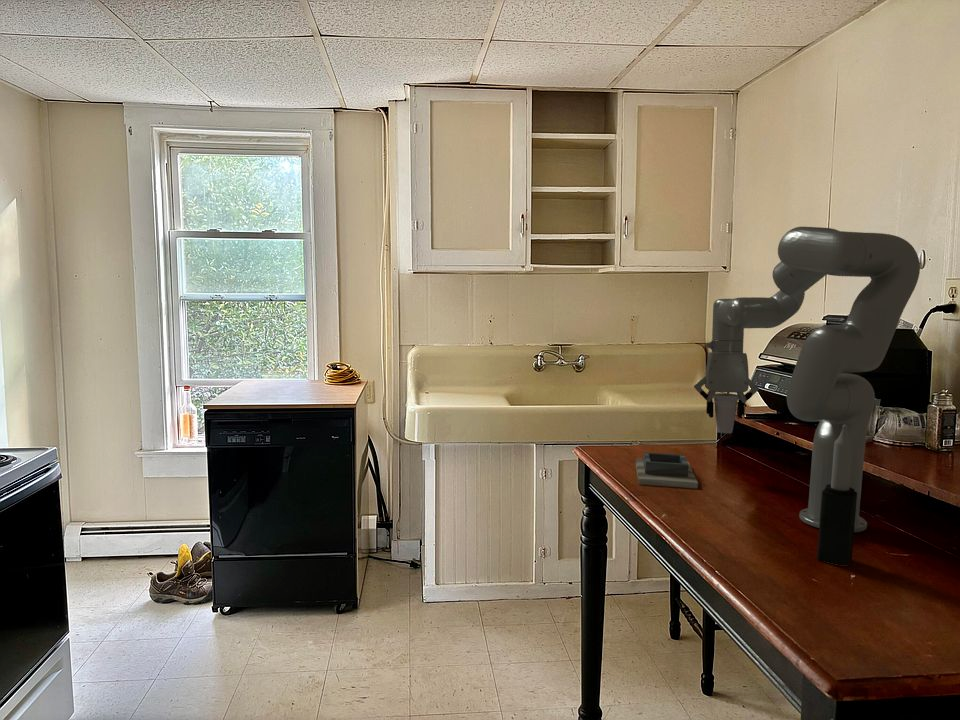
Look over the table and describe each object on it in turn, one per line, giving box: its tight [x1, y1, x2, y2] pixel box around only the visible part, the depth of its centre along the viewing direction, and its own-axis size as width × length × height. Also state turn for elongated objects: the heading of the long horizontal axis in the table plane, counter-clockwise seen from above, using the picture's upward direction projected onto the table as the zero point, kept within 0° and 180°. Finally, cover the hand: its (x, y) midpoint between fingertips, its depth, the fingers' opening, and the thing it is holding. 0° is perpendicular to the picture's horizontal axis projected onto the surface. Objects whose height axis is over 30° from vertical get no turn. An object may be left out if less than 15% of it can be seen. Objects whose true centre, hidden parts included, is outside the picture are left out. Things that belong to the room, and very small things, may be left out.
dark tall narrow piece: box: [816, 425, 857, 566], centre depth 121 cm, size 5×5×25 cm
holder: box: [635, 451, 699, 490], centre depth 174 cm, size 20×14×4 cm
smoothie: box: [713, 392, 739, 434], centre depth 172 cm, size 6×6×14 cm
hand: (725, 416), depth 172 cm, fingers closed on smoothie, 6 cm apart
